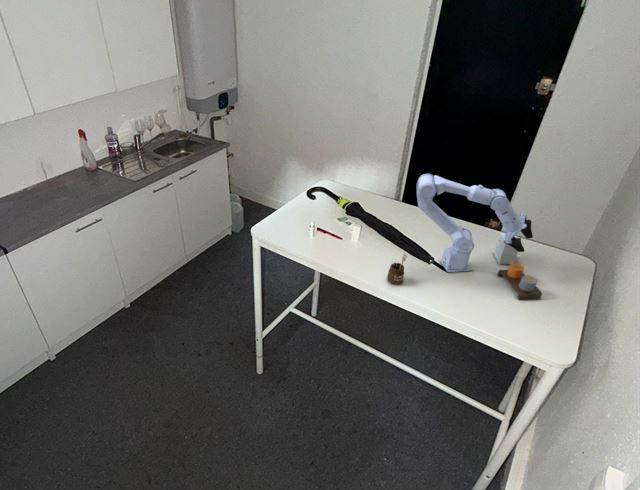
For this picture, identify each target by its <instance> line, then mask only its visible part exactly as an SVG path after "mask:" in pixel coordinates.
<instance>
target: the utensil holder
mask: <svg viewBox="0 0 640 490" xmlns="http://www.w3.org/2000/svg"><path fill="white" fill-rule="evenodd" d="M407 258H408V254H407V253H406V252H404V253H403V256H402V258H401V263H400V262H398V260H397V258H392V260H391V261H390V262H391V264H390V266H389V269H388V272H387V281H388V282H389V283H390V284H393V285H401V284H402V283H403V281H404V277H405V266H404V264H403V263H404V262H406V260H407ZM394 261H396V262H394Z"/></svg>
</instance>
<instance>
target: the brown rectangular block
mask: <svg viewBox="0 0 640 490" xmlns="http://www.w3.org/2000/svg"><path fill="white" fill-rule="evenodd" d="M507 272H508V269H499V270H498V272H497V275H496V276H497V277H503V278H504V279H505V280H506V281H507V282H508V283H509V285H510V286H511V287H512V288H513V289H514V290H515V291H516V292H517V293H518V294H517V296H516V299H518V300H533V299H541V297H542V295H543V292H542V291H541V289H540V288H539V287H537V286H536V285H535V287H534V290H533V291H530V292H528V291H524V290H522V289H520V288H519V284H520V281H521V279H522V277H523V276H526V274H525V273H524V272H523V273H522V275H521V277H520V278H512V277H510V276H509V275H508V274H507Z"/></svg>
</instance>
